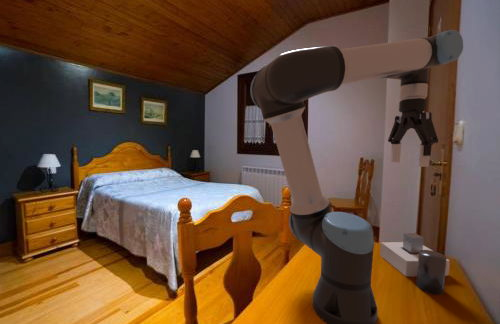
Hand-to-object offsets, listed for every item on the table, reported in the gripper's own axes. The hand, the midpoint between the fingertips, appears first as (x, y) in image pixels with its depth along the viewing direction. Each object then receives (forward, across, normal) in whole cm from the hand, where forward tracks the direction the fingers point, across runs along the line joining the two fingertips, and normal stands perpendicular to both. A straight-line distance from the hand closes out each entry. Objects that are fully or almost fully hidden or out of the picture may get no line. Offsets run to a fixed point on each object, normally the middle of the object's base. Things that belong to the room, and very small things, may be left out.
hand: (408, 164), depth 82 cm
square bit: (+34, -1, -3) cm, 34 cm away
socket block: (+35, -1, -3) cm, 35 cm away
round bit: (+35, -14, +1) cm, 37 cm away
